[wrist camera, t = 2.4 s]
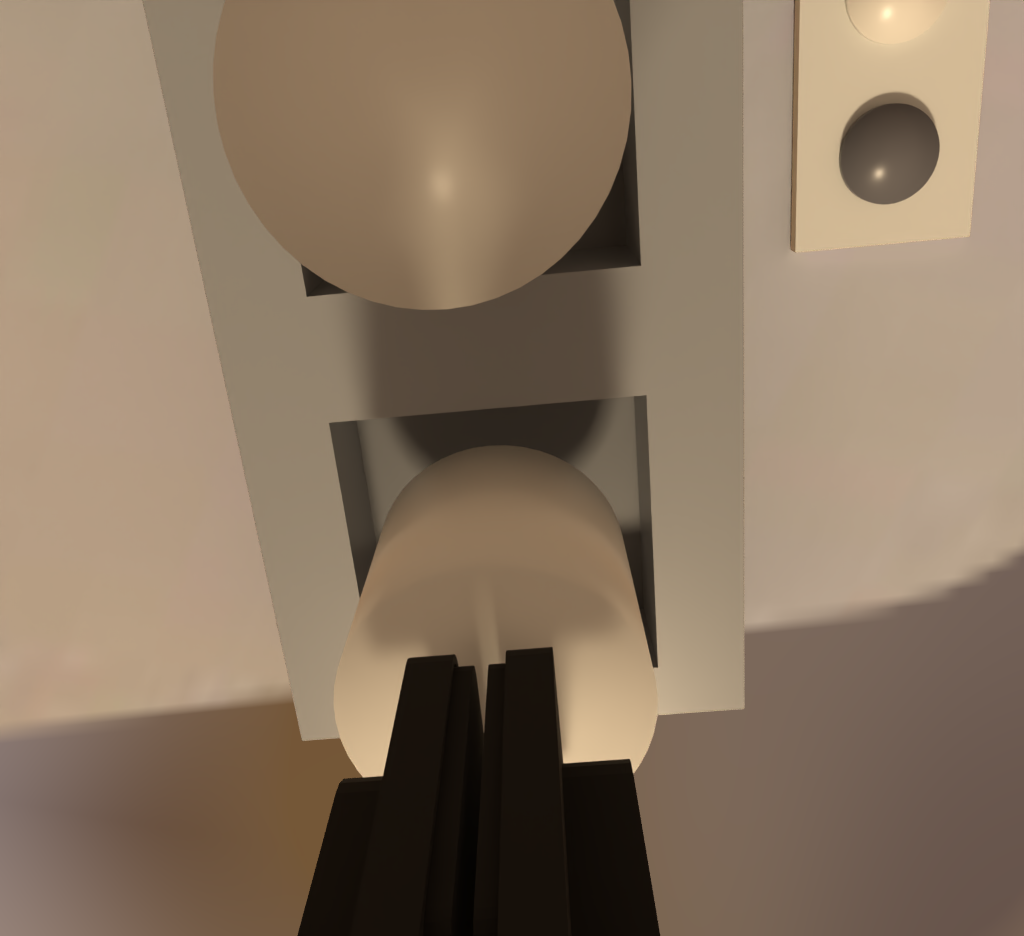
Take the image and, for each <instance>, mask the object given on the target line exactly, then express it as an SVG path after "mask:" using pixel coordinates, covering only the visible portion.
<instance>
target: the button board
mask: <svg viewBox="0 0 1024 936" xmlns="http://www.w3.org/2000/svg"><path fill="white" fill-rule="evenodd" d="M142 1H143V6H144V10H145V15H146V19H147V24H148V29H149V33H150V38H151V43H152V47H153V52H154V56H155V61H156V66H157V70H158V75H159V80H160V84H161V89H162V94H163V98H164V103H165V107H166V112H167V117H168V121H169V126H170V131H171V135H172V140H173V145H174V149H175V154H176V158H177V163H178V168H179V172H180V177H181V182H182V186H183V191H184V196H185V200H186V205H187V209H188V214H189V219H190V223H191V228H192V233H193V237H194V242H195V246H196V251H197V256H198V260H199V265H200V270H201V274H202V279H203V284H204V288H205V293H206V297H207V302H208V307H209V311H210V316H211V321H212V325H213V330H214V335H215V339H216V344H217V348H218V353H219V358H220V362H221V367H222V372H223V376H224V381H225V386H226V390H227V395H228V399H229V404H230V409H231V413H232V418H233V423H234V427H235V432H236V436H237V441H238V446H239V450H240V455H241V460H242V464H243V469H244V474H245V478H246V483H247V487H248V492H249V497H250V501H251V506H252V511H253V515H254V520H255V525H256V529H257V534H258V538H259V543H260V548H261V552H262V557H263V562H264V566H265V571H266V575H267V580H268V585H269V589H270V594H271V599H272V603H273V608H274V613H275V617H276V622H277V626H278V631H279V636H280V640H281V645H282V650H283V654H284V659H285V664H286V668H287V673H288V677H289V682H290V687H291V691H292V696H293V701H294V705H295V710H296V715H297V719H298V724H299V728H300V733H301V738H302V740H303V741H305V740H318V739H332V738H340V735H339V732H338V728H337V725H336V721H335V712H334V704H333V703H334V684H335V679H336V674H337V669H338V666H339V662H340V659H341V656H342V653H343V650H344V647H345V644H346V641H347V638H348V634H349V631H350V628H351V625H352V622H353V619H354V616H355V613H356V609H357V606H358V603H359V600H360V597H361V594H362V591H363V588H364V585H365V581H366V578H367V575H368V572H369V569H370V566H371V563H372V560H373V557H374V553H375V550H376V547H377V544H378V541H379V538H380V535H381V532H382V528H383V526H384V523H385V520H386V517H387V515H388V512H389V510H390V509H391V507H392V505H393V503H394V501H395V499H396V498H397V497H398V495H399V494H400V493H401V491H402V490H403V489H404V487H405V486H406V485H407V484H408V483H409V482H410V481H411V480H412V479H413V478H414V477H415V476H416V475H418V474H419V473H420V472H422V471H423V470H424V469H426V468H427V467H428V466H430V465H432V464H433V463H435V462H437V461H439V460H440V459H442V458H445V457H447V456H449V455H452V454H454V453H457V452H460V451H464V450H467V449H471V448H476V447H483V446H492V445H509V446H519V447H526V448H530V449H534V450H539V451H542V452H544V453H547V454H550V455H553V456H555V457H557V458H559V459H561V460H563V461H565V462H567V463H569V464H570V465H572V466H573V467H575V468H576V469H578V470H579V471H581V472H582V473H583V474H584V475H586V476H587V477H588V478H589V479H590V480H591V481H592V482H593V483H594V484H595V485H596V486H597V487H598V488H599V490H600V491H601V492H602V493H603V494H604V496H605V497H606V499H607V500H608V502H609V504H610V505H611V507H612V508H613V511H614V513H615V515H616V517H617V520H618V522H619V526H620V529H621V533H622V536H623V541H624V545H625V549H626V554H627V558H628V562H629V567H630V571H631V575H632V579H633V584H634V588H635V592H636V597H637V601H638V605H639V610H640V614H641V618H642V623H643V627H644V631H645V636H646V640H647V644H648V648H649V653H650V657H651V661H652V666H653V670H654V674H655V679H656V686H657V694H658V710H657V715H665V714H679V713H693V712H706V711H721V710H734V709H744V302H743V0H613V1H614V3H615V6H616V9H617V12H618V14H619V17H620V20H621V22H622V27H623V31H624V35H625V40H626V44H627V48H628V54H629V63H630V73H631V114H630V122H629V129H628V136H627V142H626V145H625V149H624V153H623V156H622V160H621V164H620V168H619V170H618V173H617V175H616V178H615V180H614V182H613V185H612V187H611V190H610V192H609V194H608V196H607V198H606V200H605V202H604V203H603V205H602V207H601V209H600V211H599V212H598V214H597V216H596V218H595V219H594V220H593V222H592V223H591V224H590V226H589V227H588V229H587V230H586V231H585V233H584V234H583V235H582V237H581V238H580V239H579V240H578V241H577V242H576V244H575V245H574V246H573V247H572V248H571V249H570V250H569V251H568V252H567V253H566V254H565V255H564V256H563V257H562V258H561V259H560V260H559V261H557V262H556V263H555V264H554V265H552V266H551V267H550V268H549V269H548V270H546V271H545V272H544V273H543V274H541V275H540V276H538V277H536V278H535V279H533V280H532V281H530V282H528V283H527V284H525V285H523V286H522V287H520V288H518V289H516V290H514V291H511V292H509V293H507V294H505V295H502V296H500V297H498V298H495V299H492V300H489V301H485V302H482V303H479V304H475V305H471V306H465V307H459V308H452V309H440V310H418V309H408V308H398V307H393V306H389V305H385V304H381V303H376V302H372V301H369V300H367V299H364V298H361V297H359V296H356V295H353V294H351V293H348V292H346V291H344V290H342V289H340V288H338V287H337V286H335V285H333V284H331V283H329V282H327V281H325V280H324V279H322V278H321V277H319V276H318V275H316V274H315V273H313V272H312V271H311V270H309V269H308V268H306V267H305V266H303V265H302V264H301V263H300V262H299V261H298V260H296V259H295V258H294V257H293V256H292V255H291V254H290V253H289V252H287V251H286V250H285V249H284V248H283V247H282V246H281V245H280V244H279V243H278V241H277V240H276V239H275V238H274V237H273V236H272V235H271V234H270V232H269V231H268V230H267V229H266V228H265V227H264V225H263V224H262V222H261V221H260V220H259V218H258V217H257V215H256V214H255V212H254V211H253V210H252V208H251V207H250V205H249V204H248V202H247V200H246V198H245V196H244V194H243V193H242V191H241V189H240V187H239V185H238V183H237V181H236V179H235V177H234V174H233V172H232V169H231V167H230V164H229V162H228V159H227V157H226V154H225V151H224V147H223V143H222V140H221V136H220V132H219V128H218V124H217V117H216V110H215V103H214V95H213V60H214V51H215V42H216V34H217V30H218V26H219V22H220V17H221V13H222V9H223V5H224V3H225V0H142Z"/></svg>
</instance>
